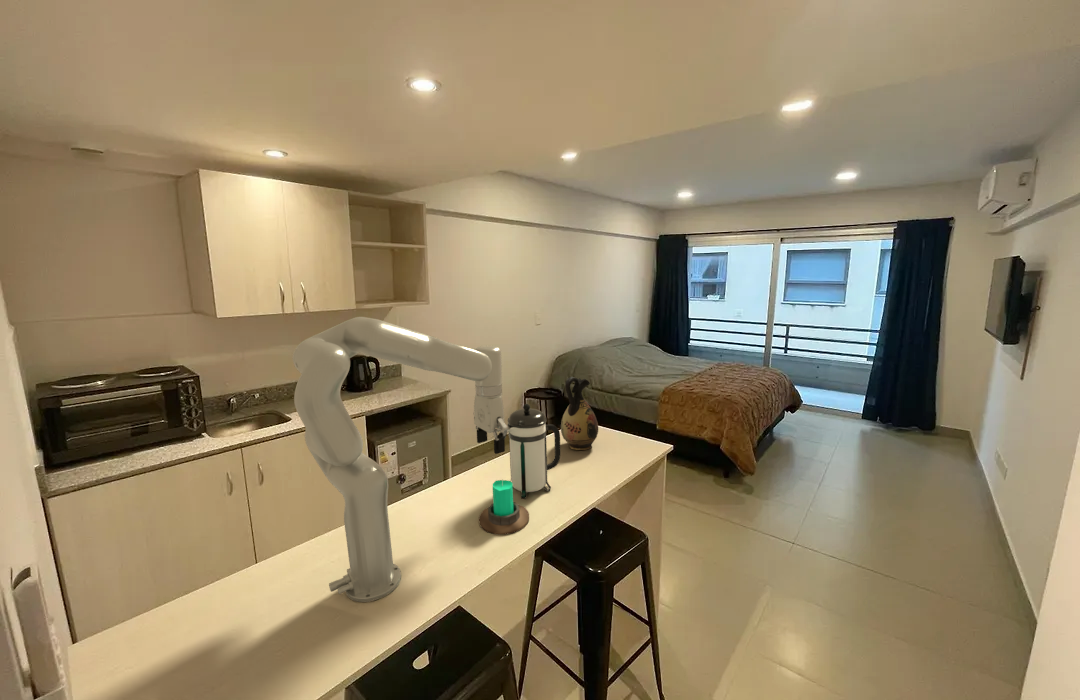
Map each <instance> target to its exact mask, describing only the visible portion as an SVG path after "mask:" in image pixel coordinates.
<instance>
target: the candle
mask: <svg viewBox="0 0 1080 700" xmlns="http://www.w3.org/2000/svg"><path fill="white" fill-rule="evenodd" d="M492 500H493V502H492V504H493V505H494V515H498V516H508V515H510V514H513V513H514V509H513V502H514V487H513V484H512V482H511V481H510V480H508V479H507V480H504V479H499V480H495V481H494V482H493V483H492Z"/></svg>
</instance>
